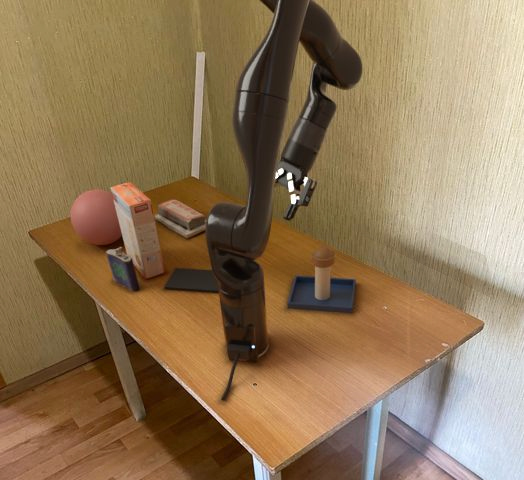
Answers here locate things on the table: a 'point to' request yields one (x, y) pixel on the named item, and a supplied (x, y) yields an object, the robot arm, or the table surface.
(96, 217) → the balloon
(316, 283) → the mushroom
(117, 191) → the cracker box
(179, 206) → the packaged product
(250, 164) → the robot arm
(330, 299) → the tray
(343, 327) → the table surface
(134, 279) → the flask
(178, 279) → the mat
